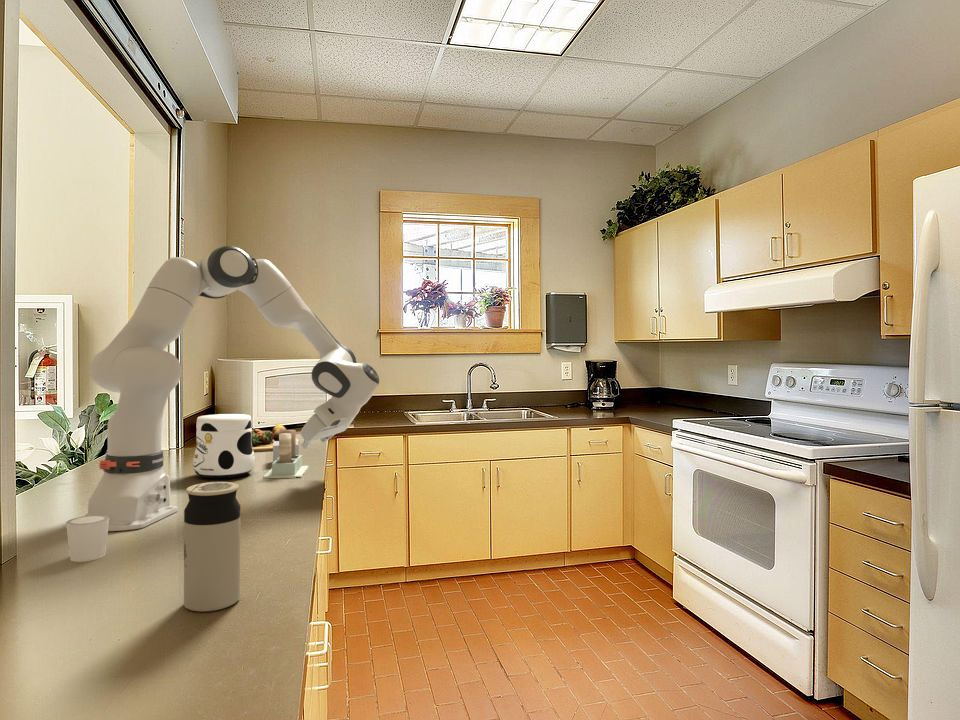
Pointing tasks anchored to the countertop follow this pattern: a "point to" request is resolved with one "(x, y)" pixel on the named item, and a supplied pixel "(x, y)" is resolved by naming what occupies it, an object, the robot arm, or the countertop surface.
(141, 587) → the countertop surface
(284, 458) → the beech peg
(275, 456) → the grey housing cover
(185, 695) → the countertop surface
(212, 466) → the milk container
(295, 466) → the pin board
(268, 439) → the wooden plate with food
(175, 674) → the countertop surface
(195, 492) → the travel mug
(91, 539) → the white cup
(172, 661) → the countertop surface
